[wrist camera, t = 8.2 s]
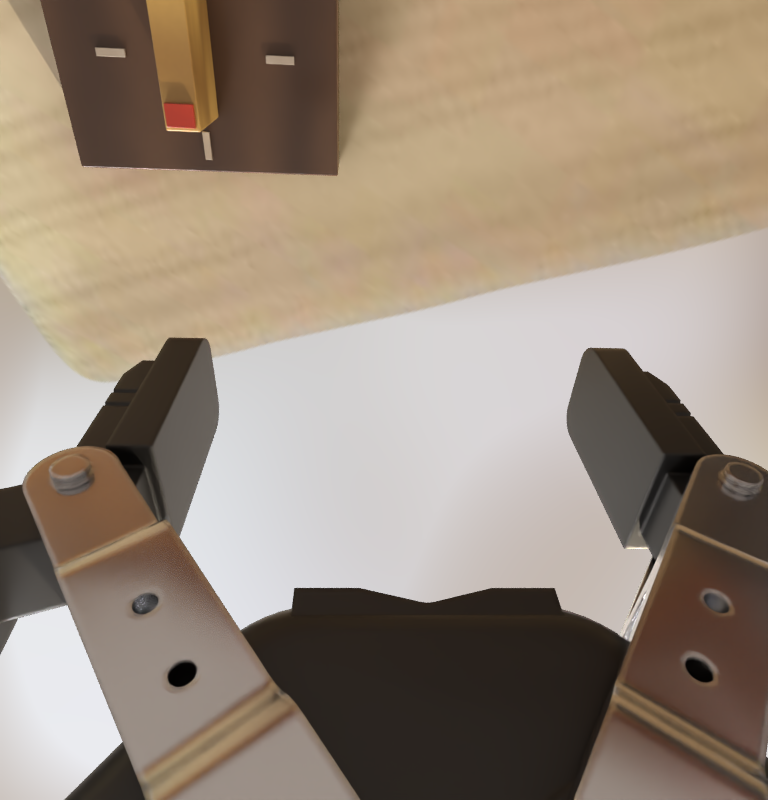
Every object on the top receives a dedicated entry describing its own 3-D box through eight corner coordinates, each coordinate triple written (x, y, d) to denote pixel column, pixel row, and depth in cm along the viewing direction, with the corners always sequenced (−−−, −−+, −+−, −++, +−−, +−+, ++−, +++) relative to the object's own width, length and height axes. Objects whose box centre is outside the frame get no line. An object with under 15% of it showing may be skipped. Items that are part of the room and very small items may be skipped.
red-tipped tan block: (170, -14, 26) (140, -16, 23) (205, -12, 27) (181, -14, 23) (188, 116, 30) (164, 132, 26) (219, 117, 30) (199, 133, 26)
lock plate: (338, -73, 28) (336, -80, 25) (339, 163, 34) (337, 176, 32) (45, -90, 27) (12, -100, 24) (101, 155, 33) (80, 167, 31)
